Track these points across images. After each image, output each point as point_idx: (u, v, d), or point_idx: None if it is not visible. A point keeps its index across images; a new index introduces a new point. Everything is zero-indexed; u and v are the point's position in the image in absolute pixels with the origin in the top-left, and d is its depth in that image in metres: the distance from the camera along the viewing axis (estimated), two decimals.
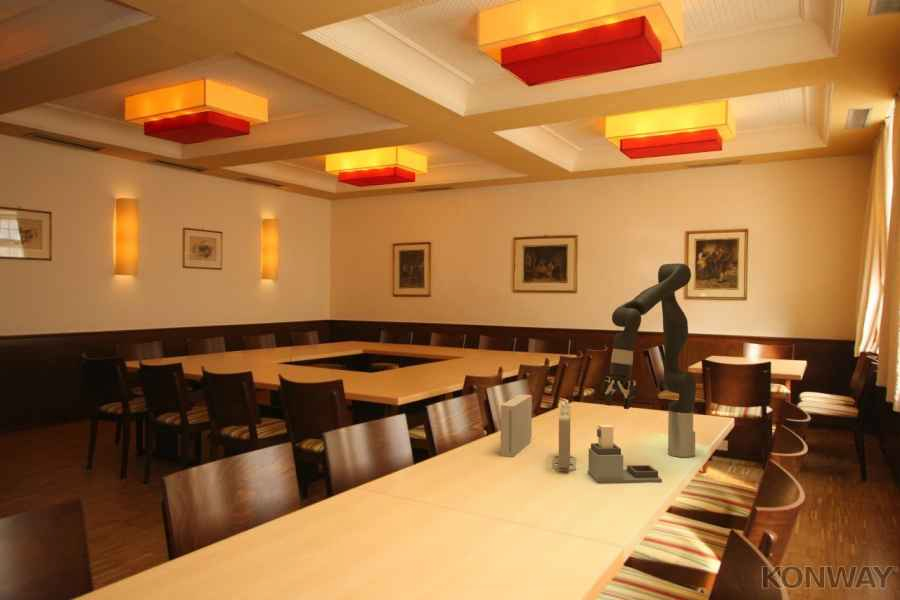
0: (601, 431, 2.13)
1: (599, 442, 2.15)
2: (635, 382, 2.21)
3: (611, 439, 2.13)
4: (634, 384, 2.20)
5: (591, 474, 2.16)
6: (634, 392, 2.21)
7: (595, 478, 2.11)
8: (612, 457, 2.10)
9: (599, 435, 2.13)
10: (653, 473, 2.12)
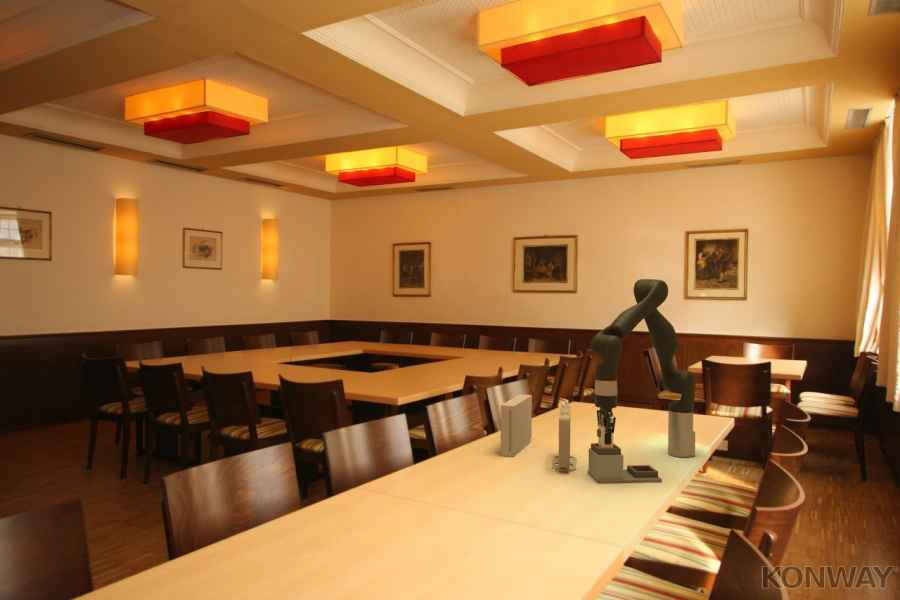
0: (601, 431, 2.13)
1: (599, 442, 2.15)
2: (613, 419, 2.08)
3: (611, 439, 2.13)
4: (611, 421, 2.08)
5: (591, 474, 2.16)
6: (612, 428, 2.09)
7: (595, 478, 2.11)
8: (612, 457, 2.10)
9: (599, 435, 2.13)
10: (653, 473, 2.12)
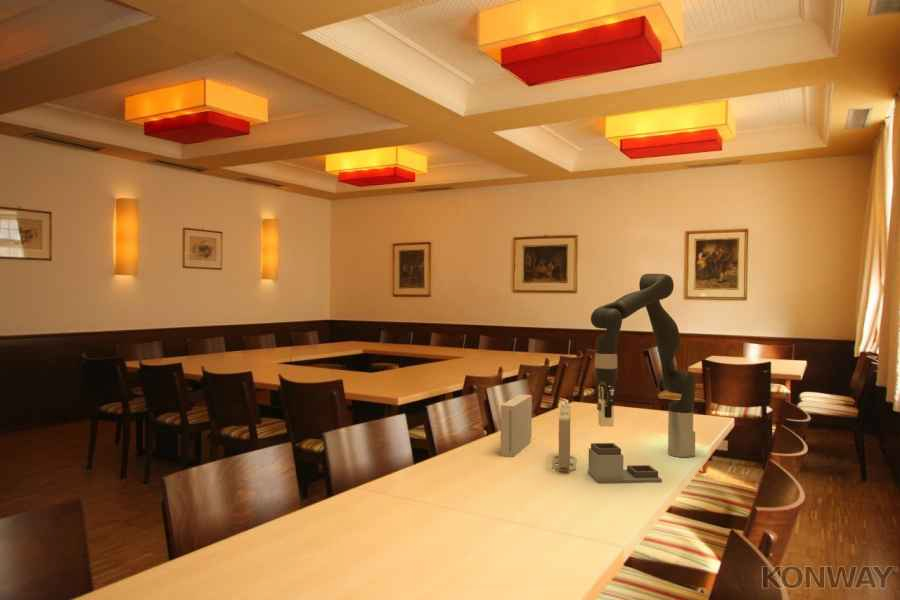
0: (601, 404, 2.13)
1: (599, 416, 2.15)
2: (613, 392, 2.08)
3: None
4: (611, 394, 2.08)
5: (591, 474, 2.16)
6: (612, 400, 2.09)
7: (595, 478, 2.11)
8: (612, 457, 2.10)
9: (599, 408, 2.13)
10: (653, 473, 2.12)
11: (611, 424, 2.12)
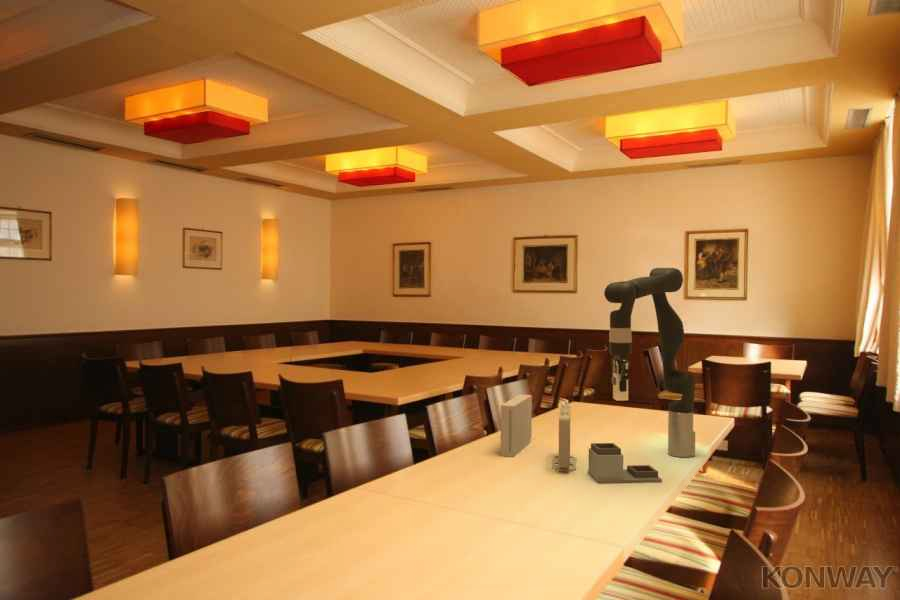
0: (616, 378, 2.13)
1: (614, 390, 2.15)
2: (628, 365, 2.08)
3: (626, 386, 2.13)
4: (626, 367, 2.08)
5: (591, 474, 2.16)
6: (627, 374, 2.10)
7: (595, 478, 2.11)
8: (612, 457, 2.10)
9: (614, 382, 2.14)
10: (653, 473, 2.12)
11: (626, 398, 2.13)
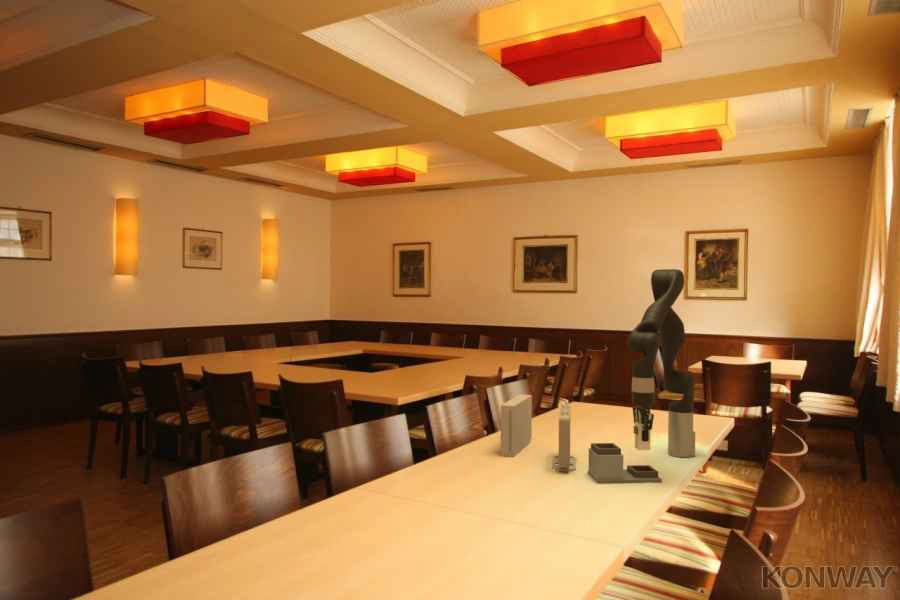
0: (638, 428, 2.14)
1: (636, 439, 2.16)
2: (651, 416, 2.09)
3: None
4: (649, 418, 2.09)
5: (591, 474, 2.16)
6: (650, 425, 2.10)
7: (595, 478, 2.11)
8: (612, 457, 2.10)
9: (636, 432, 2.14)
10: (653, 473, 2.12)
11: (648, 448, 2.13)
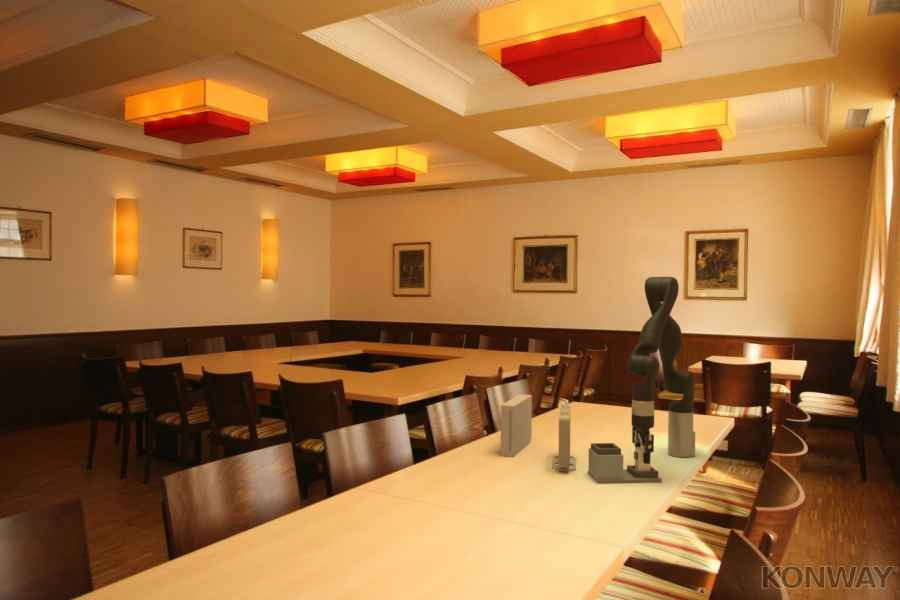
0: (638, 454, 2.14)
1: (636, 465, 2.16)
2: (651, 436, 2.09)
3: None
4: (650, 438, 2.09)
5: (591, 474, 2.16)
6: (651, 446, 2.09)
7: (595, 478, 2.11)
8: (612, 457, 2.10)
9: (636, 458, 2.14)
10: (653, 473, 2.12)
11: None
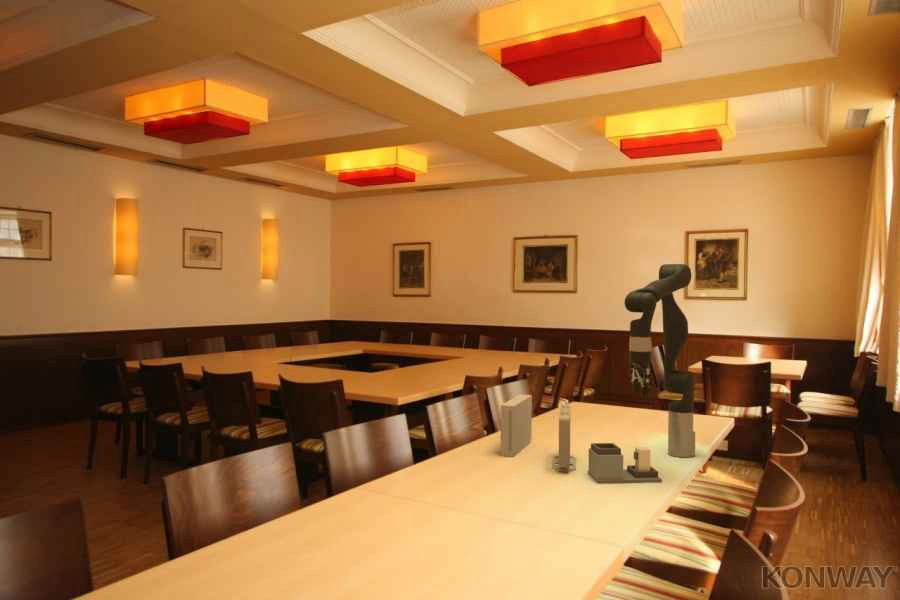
0: (638, 454, 2.14)
1: (636, 465, 2.16)
2: (649, 370, 2.11)
3: (648, 462, 2.13)
4: (648, 372, 2.11)
5: (591, 474, 2.16)
6: (649, 380, 2.11)
7: (595, 478, 2.11)
8: (612, 457, 2.10)
9: (636, 458, 2.14)
10: (653, 473, 2.12)
11: None
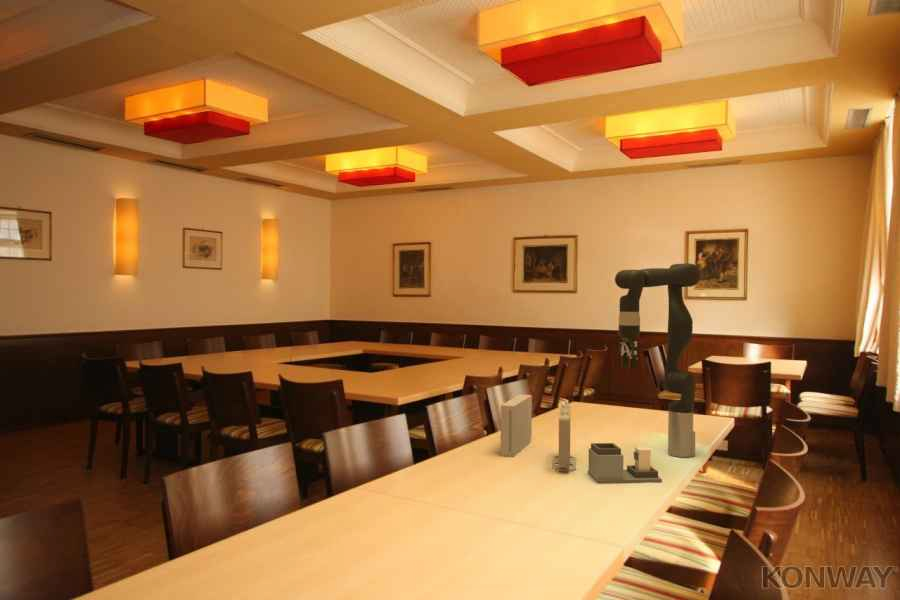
0: (638, 454, 2.14)
1: (636, 465, 2.16)
2: (637, 342, 2.22)
3: (648, 462, 2.13)
4: (635, 345, 2.22)
5: (591, 474, 2.16)
6: (637, 352, 2.22)
7: (595, 478, 2.11)
8: (612, 457, 2.10)
9: (636, 458, 2.14)
10: (653, 473, 2.12)
11: None
